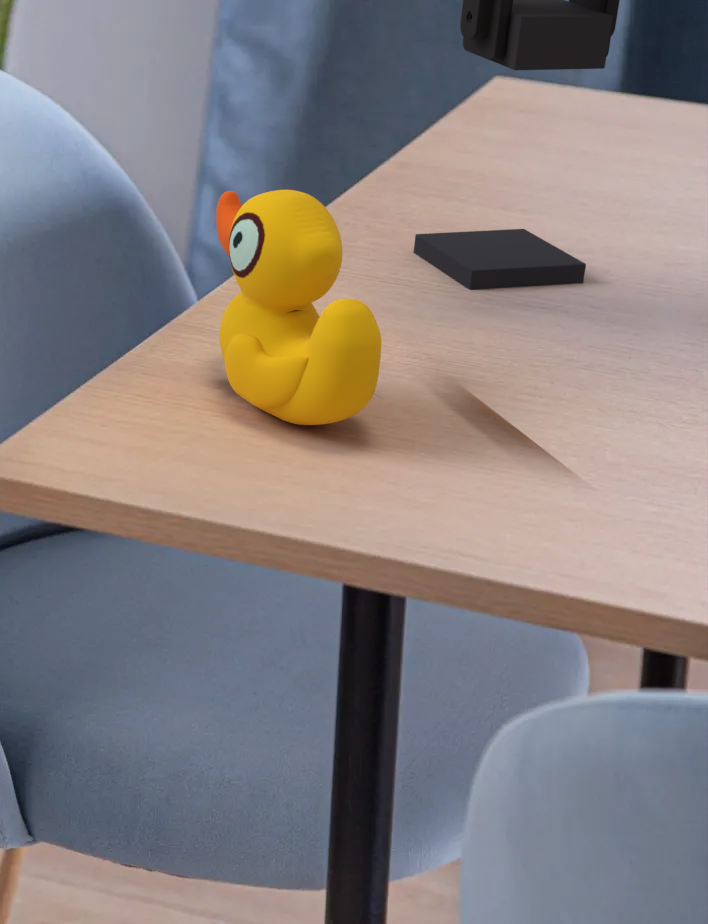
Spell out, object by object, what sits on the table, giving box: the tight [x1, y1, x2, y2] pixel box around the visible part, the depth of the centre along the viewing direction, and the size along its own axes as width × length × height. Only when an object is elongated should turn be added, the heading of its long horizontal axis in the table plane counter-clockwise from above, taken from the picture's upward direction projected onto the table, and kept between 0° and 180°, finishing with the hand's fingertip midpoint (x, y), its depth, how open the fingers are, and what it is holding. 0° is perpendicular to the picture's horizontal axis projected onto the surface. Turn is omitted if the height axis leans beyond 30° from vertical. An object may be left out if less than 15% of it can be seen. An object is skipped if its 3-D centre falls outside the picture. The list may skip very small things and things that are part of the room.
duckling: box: [215, 189, 382, 426], centre depth 79 cm, size 11×5×10 cm, turn 32°
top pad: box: [490, 0, 612, 71], centre depth 86 cm, size 5×5×2 cm
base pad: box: [413, 228, 587, 291], centre depth 99 cm, size 7×7×2 cm
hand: (535, 50), depth 86 cm, fingers closed on top pad, 5 cm apart
